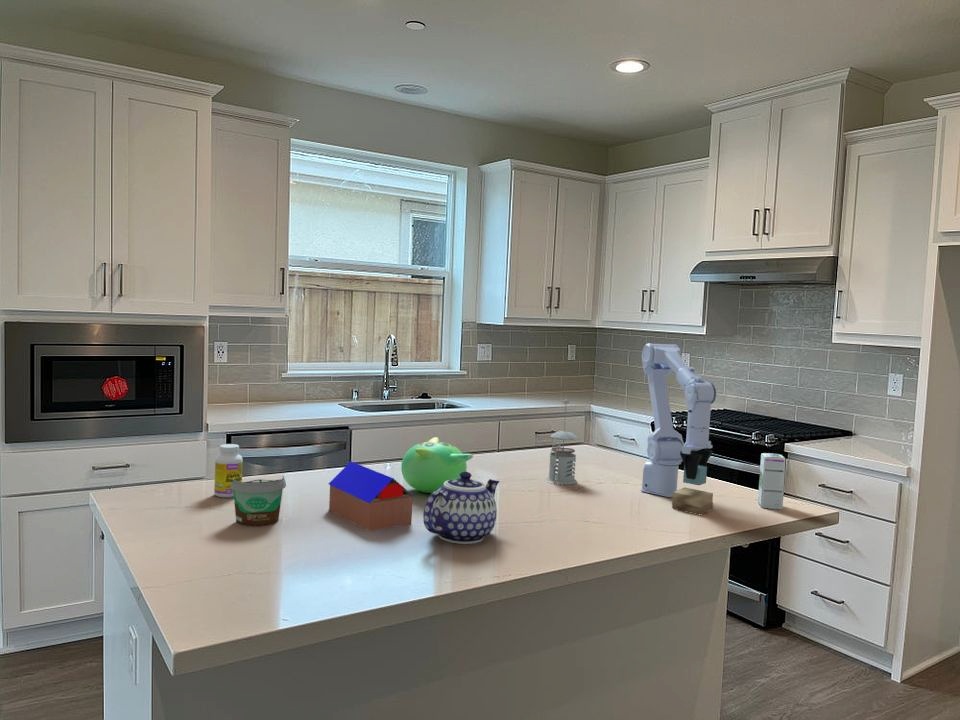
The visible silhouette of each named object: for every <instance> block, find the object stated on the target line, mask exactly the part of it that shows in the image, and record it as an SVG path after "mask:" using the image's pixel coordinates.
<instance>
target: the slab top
mask: <svg viewBox="0 0 960 720" xmlns="http://www.w3.org/2000/svg"><path fill="white" fill-rule="evenodd" d="M713 497H714V493H713V492H708V491H705V490H700V489H696V488H695V489H694V488H690V487H683V488H680V489H677V491H674V492H673V497H671V498H672V499H671V501H672V502H678V503H682V504H687V505H692V506H696V507H703V506H706V505H708V504H710V503H712V502H713V500H714V499H713Z"/></svg>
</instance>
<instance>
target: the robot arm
mask: <svg viewBox="0 0 960 720" xmlns="http://www.w3.org/2000/svg"><path fill="white" fill-rule="evenodd" d="M681 352H682V351H681V349H680V347H679V346H678V345H677V344H675V343H672V344H669V343H668V344H664V343H663V344H662V343H649V342H647V343H645V345H644V346H643V348H642V352H641V362H642V368H643V373H644V374H646V375H647V381H648V389H649V395H650V401H651V409H652V415H653V422H654V431H653V432H652V433H650V434H649V436H648V437H647V448H646V452H647V458H649V460H647V461H646V462H645V463H644V465H643V470H642V481H641V482H642V483H641V485H642V486H641V489H640V491H641V492H642V493H648V494H652V495H656V496H657V495H658V496H662V497H666V498H673V492H674V491H677V490H678V478H679V465H681V464H682V462H683V465H684V466H685V471H686V477H687V478H689V479H695V478H696V474H697V469H698V465H702V466H707V464H708V461H709V460H710V458H711V456H712V455H713V450H712V448H713V444H712V441H711V440H709V439H710V423H711V421H710V420H711V413H712V412H711V410H712V409H711V408H712V404H714V403H715V402H716V399H717V388H716V386H715V384H714V383H713V382H711V381H707V380H706V381H705V380H704V378H703V377H701V375H700V374H699V372H698V371H697V370H696V368H695V367H693V366H687V364H686V363H685V361H684V360H683V358H682V357H681ZM673 372H674V373H675V376H676V377H675V380H676V382H677V383H678V384H679V386H680V387H681V389H683V391H684V398H685V401H686V406H685V407H686V410H687V420H686V421H687V423H686V435H685V436H686V438H685V442H684V440H683V435H682V434H681V433H679V432H678V431H677V430H675V428H674V426H673V425H674V424H673V419H672V411H671V407H670V399H669V392H668V386H667V385H668V384H667V379H666V377H667V376H669V375H671V374H672V373H673ZM684 466H683V467H684Z"/></svg>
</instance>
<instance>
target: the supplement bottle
mask: <svg viewBox="0 0 960 720" xmlns="http://www.w3.org/2000/svg"><path fill="white" fill-rule="evenodd" d="M239 451H240V445H239V444H236V443H224V444H220V445H219V453H220V454H218V455H217V456H216V457H215V460H214V462H215V463H214V466H215V467H214V486H213V488H214V491H213V492H214V495H215V496H216V497H218V498H222V499H230V498H234V491H233V490H232V489H231V488H230V486H231V482H233V479H234V480H236V481H239V482H243V462H244V460H243V456H242V455H241V454H239Z"/></svg>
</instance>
